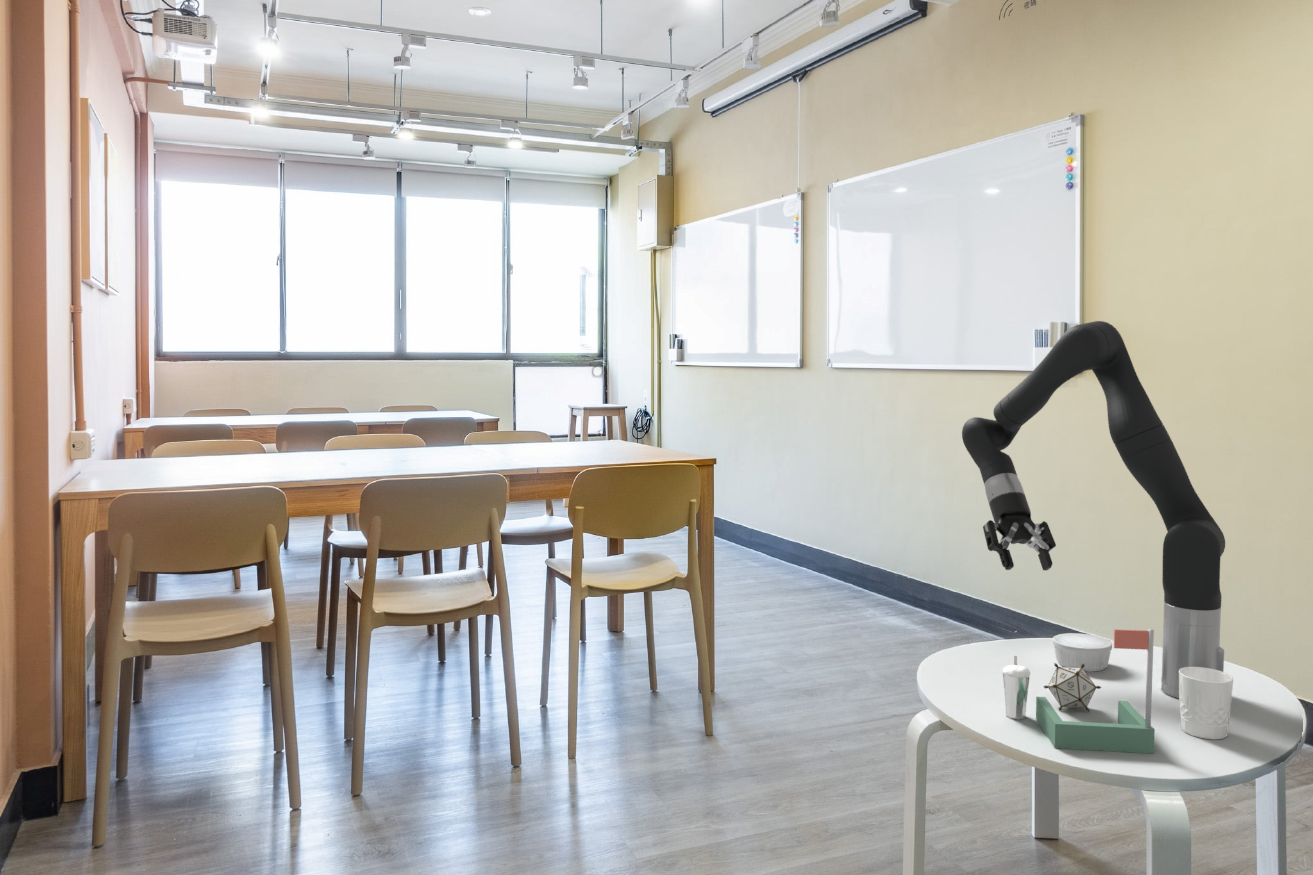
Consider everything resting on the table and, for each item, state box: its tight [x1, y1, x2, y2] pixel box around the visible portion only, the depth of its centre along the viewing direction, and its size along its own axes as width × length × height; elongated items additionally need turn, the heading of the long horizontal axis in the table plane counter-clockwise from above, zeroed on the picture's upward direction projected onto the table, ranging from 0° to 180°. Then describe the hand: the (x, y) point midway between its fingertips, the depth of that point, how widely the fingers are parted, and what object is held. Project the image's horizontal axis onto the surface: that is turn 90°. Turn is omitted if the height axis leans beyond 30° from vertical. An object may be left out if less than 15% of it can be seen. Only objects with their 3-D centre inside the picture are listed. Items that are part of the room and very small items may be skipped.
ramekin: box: [1051, 632, 1113, 673], centre depth 187 cm, size 11×11×5 cm
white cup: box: [1178, 667, 1234, 740], centre depth 152 cm, size 8×8×10 cm
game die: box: [1043, 662, 1102, 712], centre depth 163 cm, size 9×8×10 cm
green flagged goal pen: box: [1035, 628, 1156, 755], centre depth 150 cm, size 15×12×20 cm
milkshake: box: [1002, 655, 1031, 720], centre depth 160 cm, size 4×5×10 cm
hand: (1029, 568), depth 183 cm, fingers open, 8 cm apart
